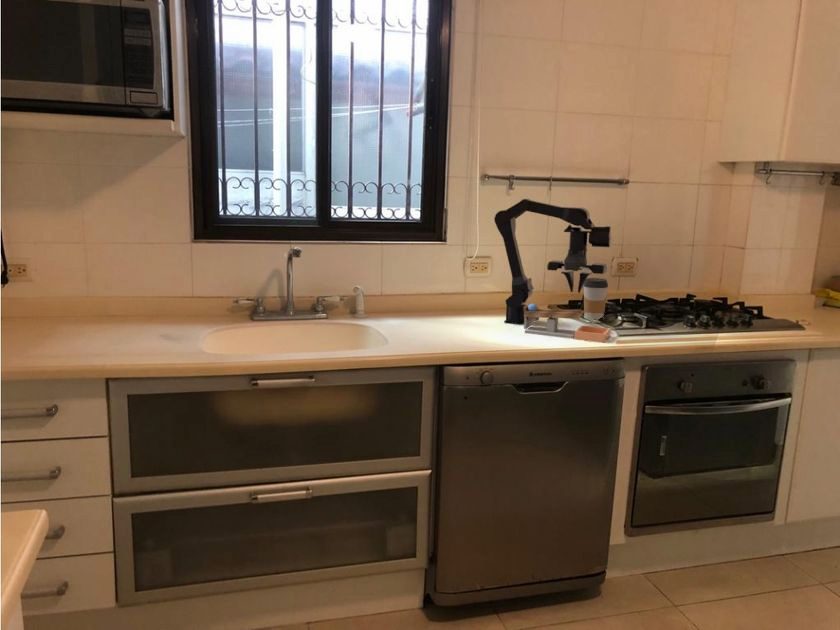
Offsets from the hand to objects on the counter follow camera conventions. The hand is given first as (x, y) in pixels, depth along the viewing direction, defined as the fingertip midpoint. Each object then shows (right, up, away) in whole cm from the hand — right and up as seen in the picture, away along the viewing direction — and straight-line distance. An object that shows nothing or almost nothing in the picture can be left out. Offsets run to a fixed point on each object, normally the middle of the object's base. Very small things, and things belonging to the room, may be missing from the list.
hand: (575, 292), depth 221 cm
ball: (-15, -5, -5) cm, 17 cm away
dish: (+3, -15, -12) cm, 19 cm away
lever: (-8, -9, -5) cm, 13 cm away
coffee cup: (+9, -10, +11) cm, 18 cm away
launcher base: (-9, -14, -6) cm, 17 cm away
